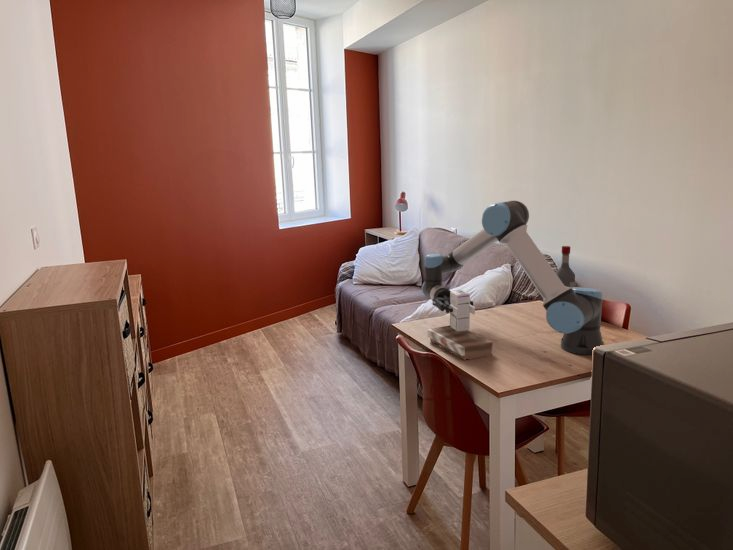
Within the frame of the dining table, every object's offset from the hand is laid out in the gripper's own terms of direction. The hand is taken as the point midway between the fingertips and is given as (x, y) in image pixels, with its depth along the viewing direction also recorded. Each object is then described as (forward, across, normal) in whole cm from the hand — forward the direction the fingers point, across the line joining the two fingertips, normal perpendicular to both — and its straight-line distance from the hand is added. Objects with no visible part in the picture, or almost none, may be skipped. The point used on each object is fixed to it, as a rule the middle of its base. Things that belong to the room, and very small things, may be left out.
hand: (465, 311), depth 196 cm
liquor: (-37, -66, -16) cm, 78 cm away
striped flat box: (-5, 0, -16) cm, 17 cm away
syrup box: (-5, 0, -8) cm, 10 cm away
